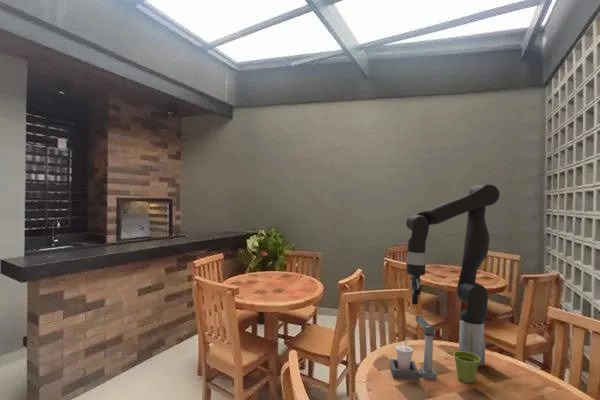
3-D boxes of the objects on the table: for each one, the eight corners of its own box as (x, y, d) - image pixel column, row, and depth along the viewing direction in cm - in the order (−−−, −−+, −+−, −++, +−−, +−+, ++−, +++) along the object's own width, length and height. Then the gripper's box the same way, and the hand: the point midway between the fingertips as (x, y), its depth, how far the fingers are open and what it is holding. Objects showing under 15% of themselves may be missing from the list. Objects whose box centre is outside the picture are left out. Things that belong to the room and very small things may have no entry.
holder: (431, 370, 138) (432, 330, 138) (437, 382, 129) (439, 340, 129) (389, 366, 140) (391, 327, 140) (392, 378, 131) (394, 336, 131)
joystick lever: (435, 336, 132) (435, 328, 132) (425, 335, 132) (426, 327, 132) (422, 321, 148) (422, 314, 148) (413, 320, 148) (413, 313, 148)
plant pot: (453, 382, 129) (454, 359, 129) (451, 371, 138) (452, 349, 138) (481, 387, 126) (482, 364, 126) (477, 375, 135) (478, 353, 135)
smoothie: (413, 378, 131) (414, 341, 131) (395, 376, 133) (396, 339, 133) (411, 370, 138) (412, 335, 138) (394, 368, 139) (395, 333, 139)
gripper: (429, 266, 139) (427, 309, 139) (421, 260, 152) (420, 300, 152) (409, 265, 140) (408, 308, 140) (404, 259, 153) (403, 298, 153)
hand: (414, 303), depth 146 cm, fingers closed
